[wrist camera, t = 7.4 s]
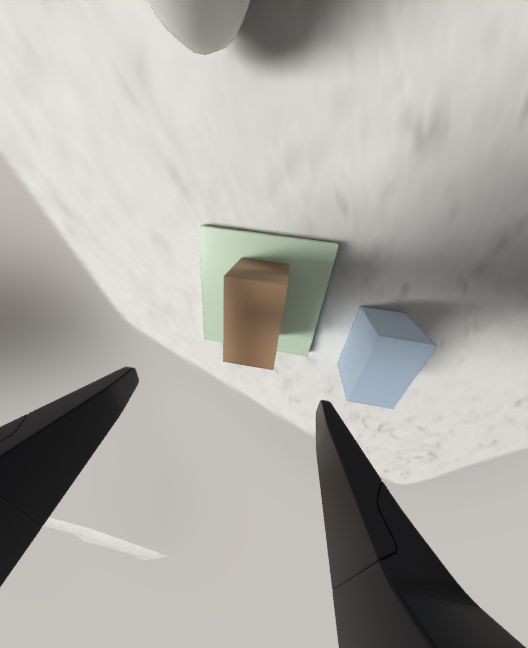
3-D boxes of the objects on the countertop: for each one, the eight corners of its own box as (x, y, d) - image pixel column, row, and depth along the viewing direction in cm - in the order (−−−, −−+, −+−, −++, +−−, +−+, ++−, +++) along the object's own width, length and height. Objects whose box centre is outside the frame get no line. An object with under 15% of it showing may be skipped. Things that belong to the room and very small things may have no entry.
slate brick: (404, 312, 18) (437, 345, 14) (374, 369, 22) (393, 409, 18) (359, 305, 19) (378, 336, 14) (337, 362, 22) (346, 400, 18)
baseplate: (337, 243, 16) (338, 244, 16) (307, 351, 22) (307, 356, 21) (201, 225, 17) (198, 225, 16) (207, 335, 22) (204, 339, 22)
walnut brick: (289, 264, 17) (287, 285, 12) (277, 334, 20) (273, 370, 16) (241, 257, 17) (223, 276, 13) (238, 328, 21) (223, 361, 16)
